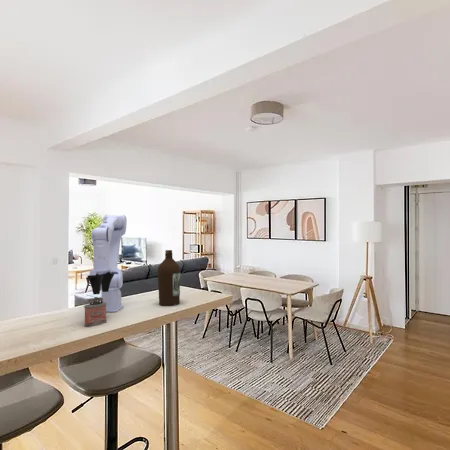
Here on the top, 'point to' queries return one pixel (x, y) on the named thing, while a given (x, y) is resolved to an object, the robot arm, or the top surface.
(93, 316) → the lighter
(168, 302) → the olive oil
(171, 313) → the top surface
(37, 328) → the top surface
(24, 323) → the top surface
